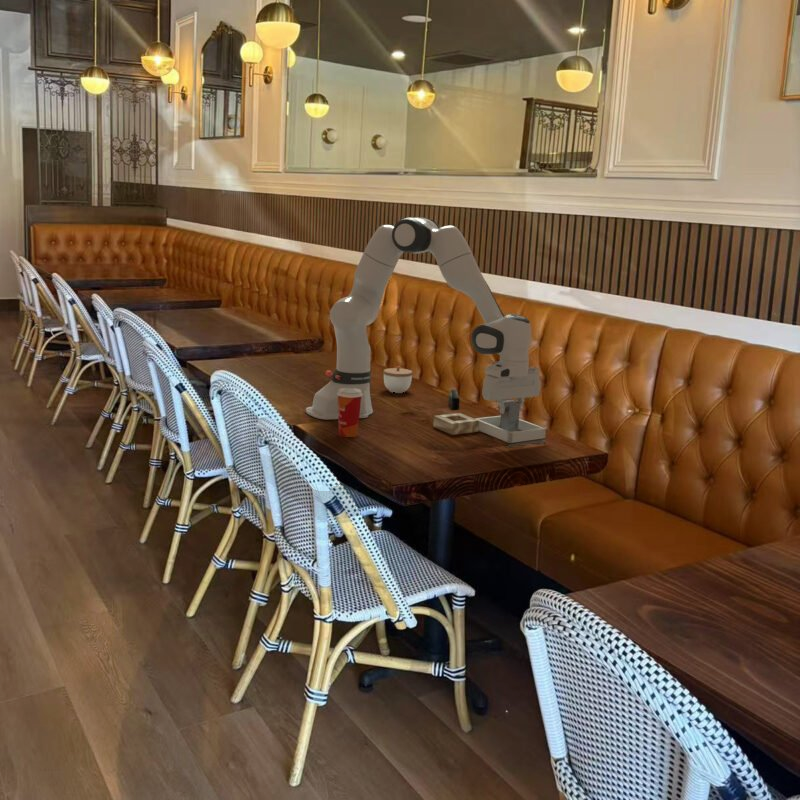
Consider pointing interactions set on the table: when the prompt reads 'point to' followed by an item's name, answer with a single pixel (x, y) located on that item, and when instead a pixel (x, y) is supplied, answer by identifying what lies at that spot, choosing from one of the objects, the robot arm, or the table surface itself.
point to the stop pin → (510, 416)
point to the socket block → (456, 423)
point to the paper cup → (349, 411)
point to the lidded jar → (397, 379)
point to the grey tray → (527, 433)
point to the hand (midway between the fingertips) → (510, 412)
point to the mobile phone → (454, 399)
